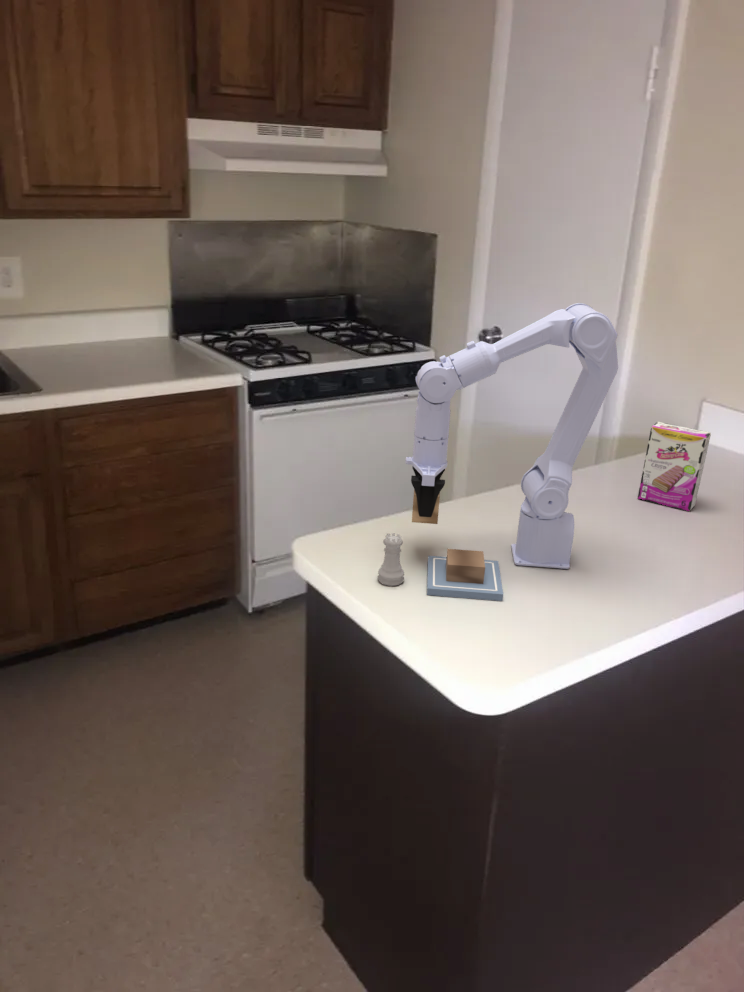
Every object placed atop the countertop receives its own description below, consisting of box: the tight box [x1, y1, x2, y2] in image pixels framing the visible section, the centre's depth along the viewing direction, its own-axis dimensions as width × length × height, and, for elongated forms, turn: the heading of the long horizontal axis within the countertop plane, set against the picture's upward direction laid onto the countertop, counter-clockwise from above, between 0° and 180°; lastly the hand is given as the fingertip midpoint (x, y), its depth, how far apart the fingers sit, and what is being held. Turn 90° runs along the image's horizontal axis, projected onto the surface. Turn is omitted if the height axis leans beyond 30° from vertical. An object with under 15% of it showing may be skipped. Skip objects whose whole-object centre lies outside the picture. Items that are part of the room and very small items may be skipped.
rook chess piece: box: [377, 532, 405, 587], centre depth 134 cm, size 4×4×8 cm
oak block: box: [411, 489, 441, 525], centre depth 142 cm, size 4×4×5 cm
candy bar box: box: [637, 421, 712, 512], centre depth 172 cm, size 11×5×16 cm, turn 58°
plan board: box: [426, 548, 504, 602], centre depth 136 cm, size 12×12×4 cm
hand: (425, 510), depth 143 cm, fingers closed on oak block, 4 cm apart
